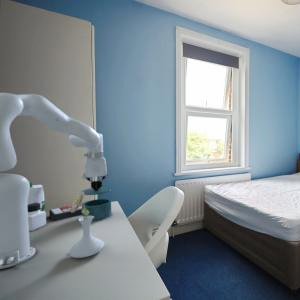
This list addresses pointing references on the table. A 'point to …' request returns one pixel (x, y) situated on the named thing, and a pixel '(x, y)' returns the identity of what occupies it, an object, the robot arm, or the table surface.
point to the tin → (98, 208)
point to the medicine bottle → (35, 216)
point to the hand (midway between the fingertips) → (96, 188)
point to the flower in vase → (85, 234)
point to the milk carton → (36, 195)
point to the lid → (96, 189)
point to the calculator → (64, 213)
